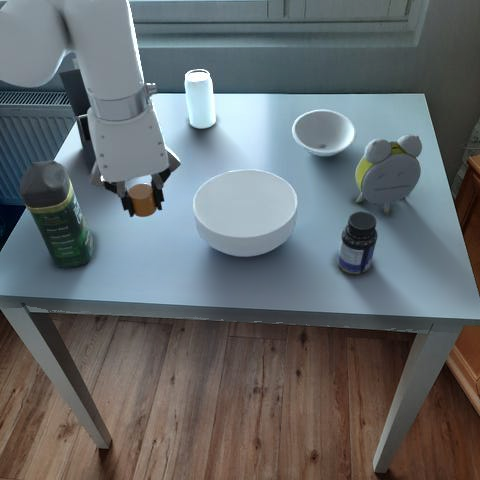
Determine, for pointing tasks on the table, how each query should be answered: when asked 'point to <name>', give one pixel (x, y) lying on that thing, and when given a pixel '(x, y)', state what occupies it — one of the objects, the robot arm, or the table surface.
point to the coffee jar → (57, 213)
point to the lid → (76, 90)
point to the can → (200, 99)
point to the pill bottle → (357, 243)
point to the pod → (142, 200)
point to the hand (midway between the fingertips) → (144, 207)
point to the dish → (324, 132)
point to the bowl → (245, 212)
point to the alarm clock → (389, 170)
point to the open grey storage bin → (86, 140)
